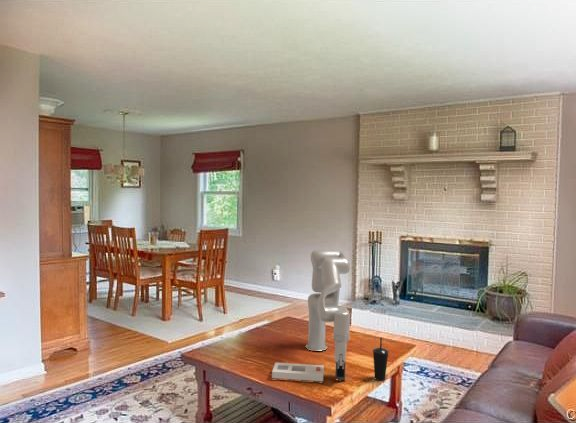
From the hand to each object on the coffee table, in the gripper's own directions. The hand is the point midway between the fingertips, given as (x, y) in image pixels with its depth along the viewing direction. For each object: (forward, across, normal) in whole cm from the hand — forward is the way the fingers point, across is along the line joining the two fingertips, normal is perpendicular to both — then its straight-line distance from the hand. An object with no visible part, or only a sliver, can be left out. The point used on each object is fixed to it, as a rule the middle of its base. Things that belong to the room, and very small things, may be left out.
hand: (340, 374), depth 216 cm
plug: (+2, 0, 0) cm, 2 cm away
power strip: (+3, 0, -20) cm, 20 cm away
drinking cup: (+3, -4, +19) cm, 20 cm away
